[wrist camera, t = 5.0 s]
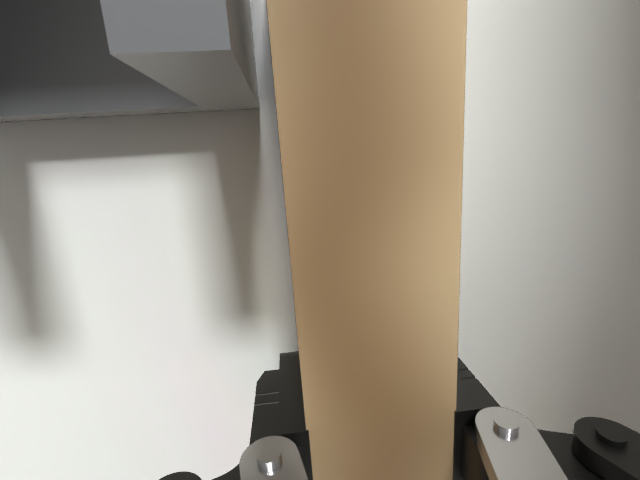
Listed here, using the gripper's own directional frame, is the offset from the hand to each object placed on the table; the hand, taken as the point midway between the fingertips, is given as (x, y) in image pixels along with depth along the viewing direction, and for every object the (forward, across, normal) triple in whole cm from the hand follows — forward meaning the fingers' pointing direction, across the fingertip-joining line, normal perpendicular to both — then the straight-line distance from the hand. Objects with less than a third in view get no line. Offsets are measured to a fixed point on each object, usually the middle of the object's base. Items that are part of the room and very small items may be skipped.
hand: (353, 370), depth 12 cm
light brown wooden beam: (0, 0, 0) cm, 0 cm away
